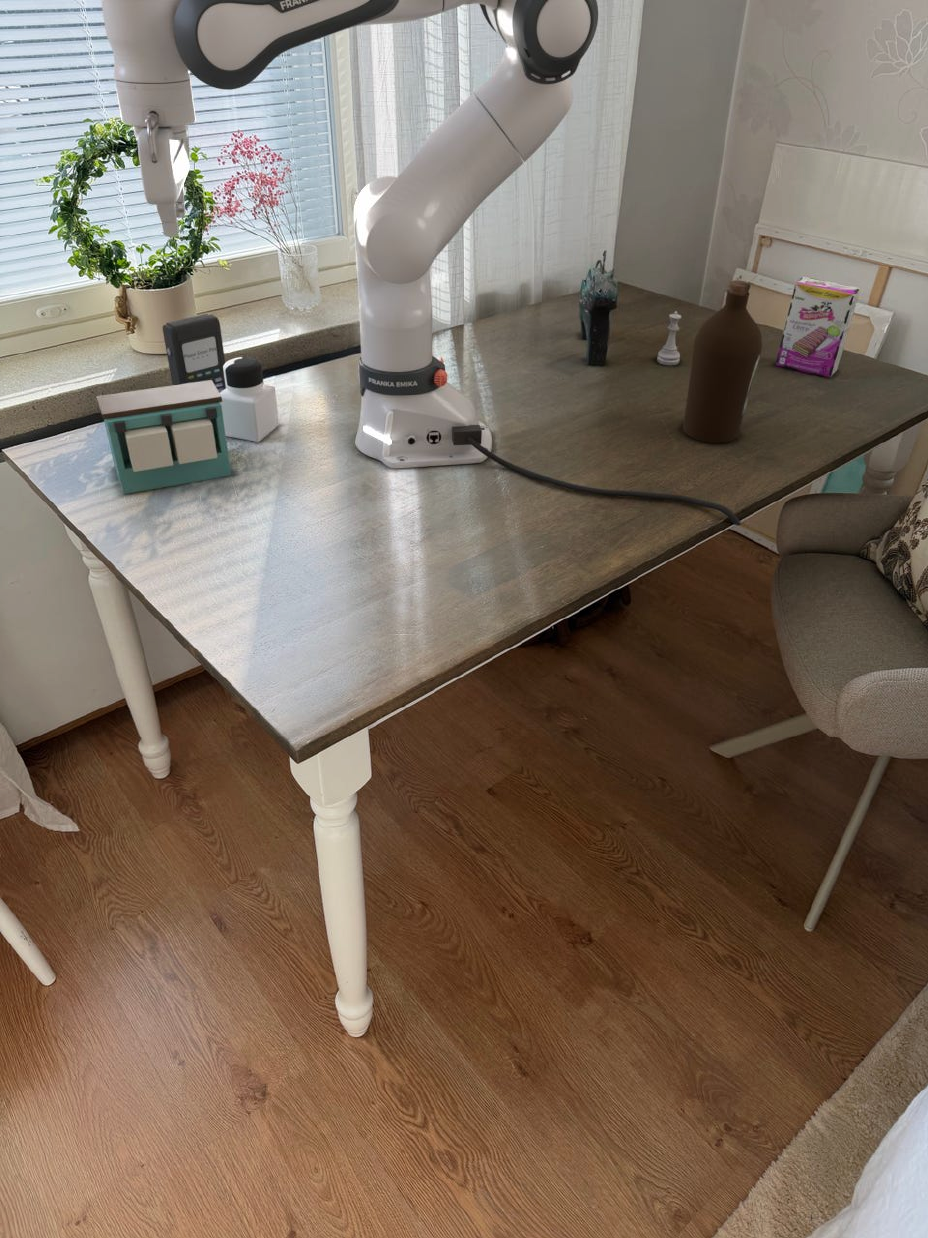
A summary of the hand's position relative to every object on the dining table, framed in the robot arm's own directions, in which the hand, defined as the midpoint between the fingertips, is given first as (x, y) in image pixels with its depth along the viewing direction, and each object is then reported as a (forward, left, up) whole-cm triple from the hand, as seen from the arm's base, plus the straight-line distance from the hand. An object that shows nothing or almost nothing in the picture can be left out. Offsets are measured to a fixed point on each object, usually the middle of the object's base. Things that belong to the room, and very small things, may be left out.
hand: (175, 225), depth 121 cm
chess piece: (-79, -50, -36) cm, 100 cm away
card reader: (+7, -24, -36) cm, 44 cm away
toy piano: (+6, +1, -36) cm, 36 cm away
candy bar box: (-106, -48, -36) cm, 122 cm away
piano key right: (+1, +4, -32) cm, 32 cm away
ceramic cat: (-64, -55, -36) cm, 92 cm away
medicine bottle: (-3, -14, -36) cm, 39 cm away
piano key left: (+7, +6, -32) cm, 33 cm away
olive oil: (-81, -18, -36) cm, 90 cm away
